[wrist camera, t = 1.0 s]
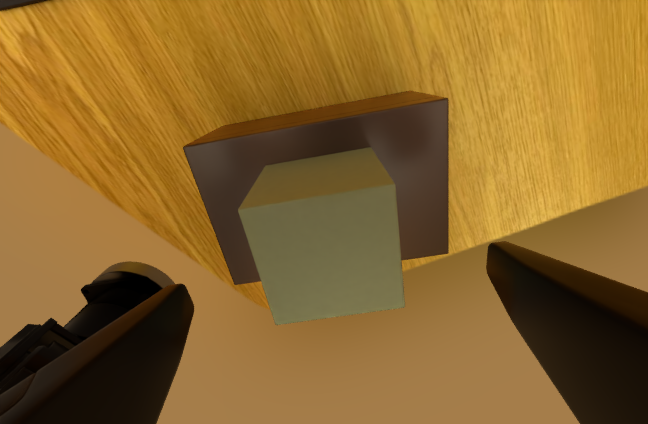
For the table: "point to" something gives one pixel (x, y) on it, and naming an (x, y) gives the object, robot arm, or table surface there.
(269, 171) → the block
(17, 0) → the mat
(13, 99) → the table surface
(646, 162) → the table surface
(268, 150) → the block
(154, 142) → the table surface
